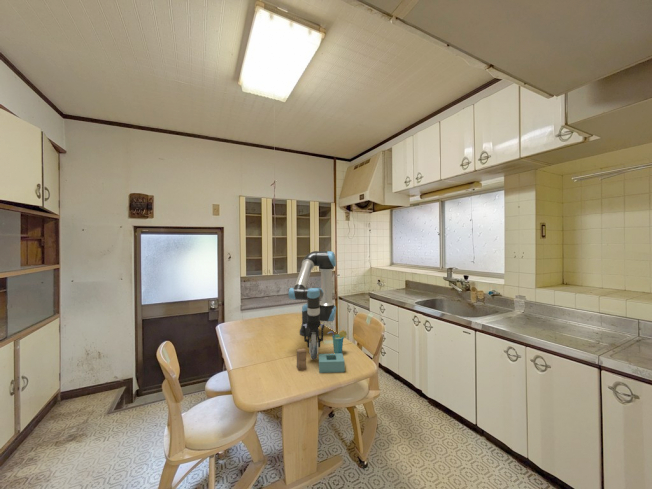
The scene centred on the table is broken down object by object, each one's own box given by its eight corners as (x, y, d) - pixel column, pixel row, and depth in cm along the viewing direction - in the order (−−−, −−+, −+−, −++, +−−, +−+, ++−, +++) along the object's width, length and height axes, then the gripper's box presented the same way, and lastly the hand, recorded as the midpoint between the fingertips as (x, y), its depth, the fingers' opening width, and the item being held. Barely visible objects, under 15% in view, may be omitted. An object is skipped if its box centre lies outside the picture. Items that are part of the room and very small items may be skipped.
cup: (330, 357, 156) (330, 333, 156) (324, 353, 163) (324, 329, 163) (349, 353, 163) (349, 329, 163) (342, 348, 170) (342, 326, 169)
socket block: (318, 364, 148) (318, 353, 148) (342, 363, 149) (342, 353, 149) (319, 372, 138) (319, 362, 138) (344, 372, 139) (344, 361, 139)
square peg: (296, 366, 145) (296, 349, 145) (304, 365, 146) (304, 348, 146) (298, 370, 141) (298, 352, 141) (306, 369, 142) (306, 351, 142)
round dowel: (310, 356, 154) (310, 332, 154) (317, 356, 154) (316, 331, 154) (310, 359, 150) (310, 334, 150) (317, 359, 150) (317, 334, 150)
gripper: (299, 316, 147) (299, 355, 148) (328, 315, 148) (328, 355, 149) (299, 312, 155) (300, 350, 156) (327, 312, 156) (327, 349, 157)
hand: (313, 352), depth 152 cm, fingers closed on round dowel, 4 cm apart
